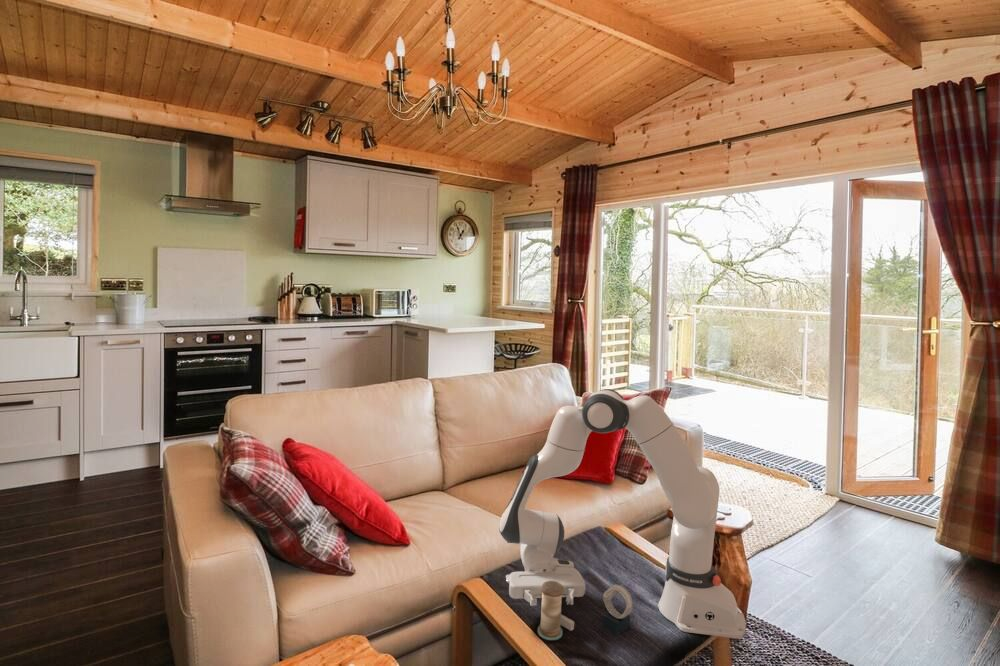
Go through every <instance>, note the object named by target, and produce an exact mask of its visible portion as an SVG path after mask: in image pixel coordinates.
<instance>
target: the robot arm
mask: <svg viewBox="0 0 1000 666" xmlns="http://www.w3.org/2000/svg"><path fill="white" fill-rule="evenodd" d="M624 429H626V430H627V431H628V432H629V433H630V434H631V436H632V438H633V439H634V440H635V442H636V444H637V445H638V446H639V449H640V450H641V451H642V453H643V454H644V456H645V457H646V459H647V461H648V462H649V464H650V466H651V467H652V468H653V471H654V472H655V475H656V477H657V479H658V481H659V484H660V485H661V487H662V488H661V489H662V490H663V492H664V495H665V497H666V499H667V500H668V503H669V505H670V508H671V512H672V515H673V518H672V526H671V530H670V540H669V541H670V542H669V552H668V557H667V558H666V561H665V571H664V572H665V573H664V574H665V575H664V576H665V582H664V588H663V591H662V594H661V597H660V599H659V602H658V605H657V608H658V609H659V612H660V613H661V614H662V615H663V617H665V619H667V620H668V621H670V622H672V623H673V624H675V626H676V627H677V628H678V629H679V630H681V632H685V633H692V634H697V635H698V634H699V635H706V636H712V637H715V636H716V637H722V638H732V639H742V638H743V636H745V634H746V629H747V627H746V626H747V622H746V618H745V615H744V613H743V612H742V610H741V609H740V608H739V607H738V603H737V601H736V597H735V596H734V593H732V591H731V590H730V589H729V588H727V587H726V586H725V585H724V584H723V583H722V581H721V580H722V579H721V577H720V576H719V574H720V573H719V570H718V568H717V565H712V564H713V553H714V552H713V551H714V544H715V541H714V540H715V536H716V535H715V534H716V533H715V532H716V526H717V516H718V507H719V500H720V499H719V497H720V485H719V482H718V479H717V477H716V476H715V474H714V473H713V472H712V471H711V470H710V469H708V468H707V467H704V466H697V463H696V461H695V460H694V457H693V454H692V452H691V450H690V447H689V446H688V443H686V441H685V439H684V438H683V437H682V435H681V433H680V432H679V430H678V429H677V427H676V426H675V425H674V423H673V421H672V420H671V419H670V417H669V416H668V414H667V413H666V412H665V410H663V408H662V407H661V406H660V405H659V404H658V402H656V401H655V400H654V399H653V398H652V397H651V396H649V395H638V396H635V397H633V398H631V399H628V400H625V399H624V398H623V396H622V395H621V394H620V393H619V392H617V391H616V390H613V389H609V388H607V389H606V388H605V389H604V388H603V389H600V390H598V391H596V392H593V393H592V394H590V396H589V397H588V398H587V399H586V400H585V402H584V403H583V405H582V406H575V405H564V406H561V407H560V408H559V409H557V411H556V414H555V415H554V418H553V420H552V422H551V425H550V428H549V431H548V434H547V436H546V437H547V438H546V441H545V443H544V446H543V447H542V449H541V450H540V451H539V452H538V453H537V454H533V455H532V456H531V457H530V458H529V460H528V461H527V463H526V465H525V467H524V469H523V471H522V473H521V475H520V478H519V479H518V482H517V485H516V487H515V489H514V492H513V493H512V496H511V498H510V500H509V502H508V504H507V506H506V508H505V509H504V511H503V512H502V515H501V516H500V517H501V518H500V521H499V526H498V529H499V530H498V531H499V533H500V535H501V536H502V538H503V539H504V540H505V541H506V543H507V544H517V545H520V546H519V549H520V550H519V551H520V552H519V553H520V558H521V562H522V566H523V567H524V571H512V572H510V573H508V574H506V575H505V581H506V583H508V584H509V585H508V593H509V597H510V598H512V599H513V600H514V599H519V600H520V599H524V600H525V601H527V602H528V603H529V605H530V606H531V607H536V606H537V605H538V604H537V603H538V599H542V584H543V583H544V582H546V581H556V582H558V583H560V584H561V585H562V586H563V593H562V598H565V602H566V603H565V604H566V606H567V605H569V606H570V605H571V606H574V598H580V597H581V598H583V597H584V595H585V592H586V581H585V580H584V578H583V576H582V574H581V573H580V572H579V570H578V569H576V568H574V567H575V565H574V563H573V561H570V560H565V559H560V558H557V557H554V556H556V555H557V554H558V553H559V552H560V550H561V549H562V546H563V544H564V540H565V527H564V526H565V525H564V523H563V521H562V520H561V518H560V516H559V515H558V514H556V513H552V512H547V511H540V510H534V509H528V508H526V506H527V504H528V501H529V499H530V497H531V494H532V492H533V490H534V489H535V486H536V485H537V484H539V483H540V482H542V481H545V480H547V479H551V478H557V477H563V476H567V475H569V474H571V473H573V472H575V471H576V470H577V469H578V468H579V466H580V465H581V462H582V460H583V456H584V453H585V450H586V446H587V445H586V444H587V440H588V438H589V436H590V434H591V433H592V432H595V433H598V434H608V433H612V432H617V431H621V430H624Z"/></svg>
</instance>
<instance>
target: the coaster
mask: <svg viewBox="0 0 1000 666" xmlns="http://www.w3.org/2000/svg"><path fill="white" fill-rule="evenodd" d="M539 628H540V625H538V627H537V634H538V635H539V637H541V638H542V639H544V640H546V641H558V640H559V639H561V638H562V637H563V634H564V633H563V629H562V627H561V632H560V634H559V635H558V636H557V637H552V638H551V637H546V636H544V635H542V634H541V633H540V631H539Z"/></svg>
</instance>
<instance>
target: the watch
mask: <svg viewBox="0 0 1000 666" xmlns="http://www.w3.org/2000/svg"><path fill="white" fill-rule="evenodd" d="M618 593H619V594H621V596H623V598H624V601H625V603H626V607H625V609H624V611H623V610H622V609H620V608H619V607H617V608H615V607H614V604H613V601H612V599H613V598H614V597H615V596H616V595H617V594H618ZM602 597H603V602H604V606H605V608H606V610H607V611H608V612H607V613H605V614H604V615H603V623H602V627H603V628H605V629H606V630H608V631H610V632H611V633H613V634H614V635H615V636H617V635H619V634H620V633H622V632H623V631H625V630H627V629H628V628H630V627H631V626H630V625H631V615H630V614H631V612H632V611H633V606H634V605H633V599H632V596H631V594H630V592H629V591H628V589H627V588H625V587H624V586H622V584H617V583H616V584H613V585H612V586H610V587H609V588H608V589H607V590H605V591H604V592H603V594H602Z"/></svg>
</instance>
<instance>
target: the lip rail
mask: <svg viewBox="0 0 1000 666" xmlns="http://www.w3.org/2000/svg"><path fill="white" fill-rule="evenodd" d="M560 626H562V627H564V628H565V629H567V630H568V631H570V632H571V631H573V630H574V629H575V621H574V620H572V619H571V618H568V617H567V616H565V615H564V614H562V613H561V619H560Z"/></svg>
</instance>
